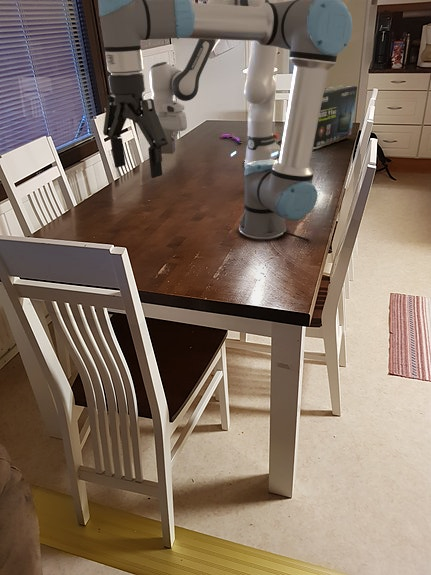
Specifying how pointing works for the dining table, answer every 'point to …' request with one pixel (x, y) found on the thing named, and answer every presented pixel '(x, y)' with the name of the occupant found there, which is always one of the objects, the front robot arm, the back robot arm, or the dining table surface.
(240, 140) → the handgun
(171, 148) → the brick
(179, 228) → the dining table surface
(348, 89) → the router box
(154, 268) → the dining table surface
